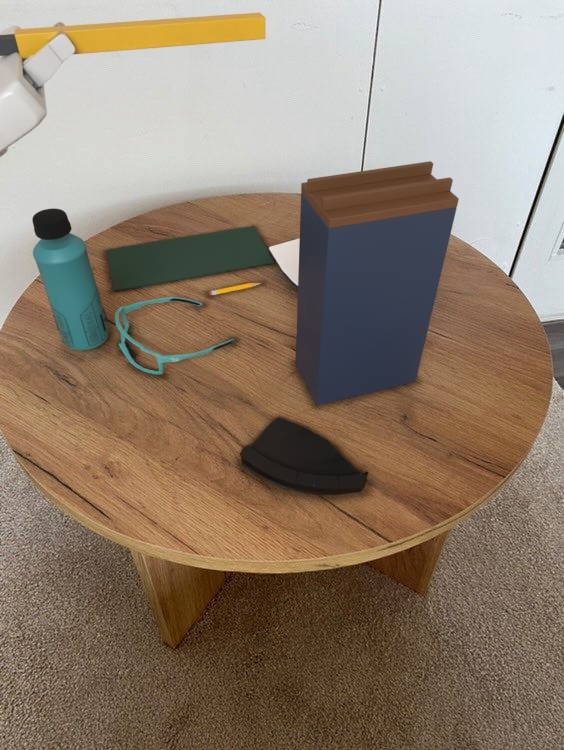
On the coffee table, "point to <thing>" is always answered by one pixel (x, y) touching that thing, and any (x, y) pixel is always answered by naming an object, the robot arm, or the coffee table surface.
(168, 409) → the coffee table surface
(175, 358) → the sunglasses
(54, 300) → the beverage bottle
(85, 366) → the coffee table surface
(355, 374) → the blue tall block
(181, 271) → the rubber mat
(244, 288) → the pencil
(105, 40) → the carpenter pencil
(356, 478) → the curved wedge
